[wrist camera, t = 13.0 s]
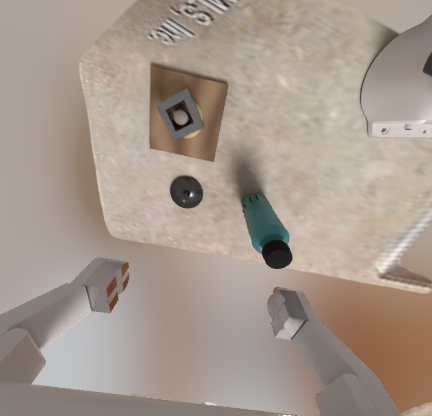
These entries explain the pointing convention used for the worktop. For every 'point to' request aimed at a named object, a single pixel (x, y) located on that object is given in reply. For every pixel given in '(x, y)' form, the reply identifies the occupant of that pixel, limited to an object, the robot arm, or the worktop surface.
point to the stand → (186, 192)
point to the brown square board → (187, 113)
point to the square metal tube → (174, 104)
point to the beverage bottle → (267, 231)
